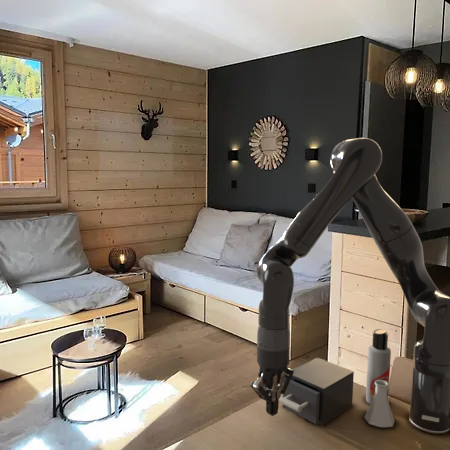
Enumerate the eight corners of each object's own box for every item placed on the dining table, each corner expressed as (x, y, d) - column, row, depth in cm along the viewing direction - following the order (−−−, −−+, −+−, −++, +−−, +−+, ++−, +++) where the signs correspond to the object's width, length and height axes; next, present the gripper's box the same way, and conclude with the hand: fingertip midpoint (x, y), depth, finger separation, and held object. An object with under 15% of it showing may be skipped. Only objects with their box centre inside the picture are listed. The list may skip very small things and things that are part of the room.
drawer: (305, 431, 107) (306, 400, 106) (271, 413, 114) (272, 384, 113) (344, 405, 118) (345, 377, 117) (311, 390, 126) (312, 364, 125)
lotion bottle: (388, 408, 119) (392, 335, 116) (365, 405, 120) (369, 333, 117) (387, 397, 124) (391, 328, 121) (365, 394, 126) (369, 325, 123)
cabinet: (322, 425, 111) (323, 388, 109) (285, 406, 119) (286, 372, 118) (352, 405, 120) (353, 371, 119) (316, 389, 128) (317, 357, 127)
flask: (397, 430, 109) (399, 391, 108) (365, 426, 110) (367, 388, 109) (392, 414, 116) (394, 377, 115) (362, 410, 117) (364, 374, 116)
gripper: (266, 356, 97) (265, 431, 99) (304, 340, 105) (302, 409, 108) (241, 346, 102) (241, 417, 104) (279, 331, 111) (278, 397, 113)
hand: (272, 413), depth 106 cm, fingers closed
